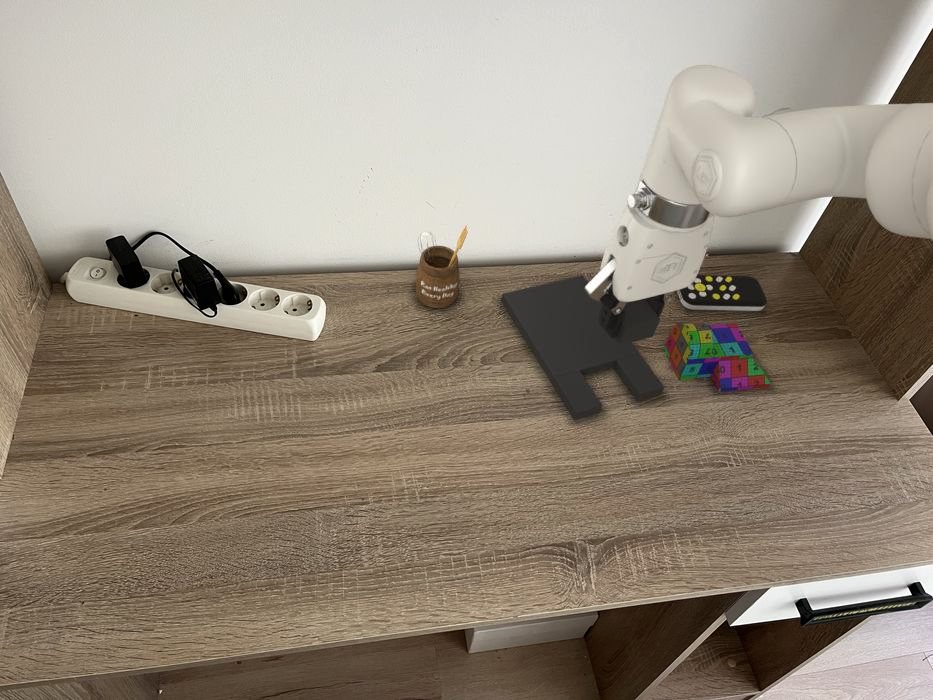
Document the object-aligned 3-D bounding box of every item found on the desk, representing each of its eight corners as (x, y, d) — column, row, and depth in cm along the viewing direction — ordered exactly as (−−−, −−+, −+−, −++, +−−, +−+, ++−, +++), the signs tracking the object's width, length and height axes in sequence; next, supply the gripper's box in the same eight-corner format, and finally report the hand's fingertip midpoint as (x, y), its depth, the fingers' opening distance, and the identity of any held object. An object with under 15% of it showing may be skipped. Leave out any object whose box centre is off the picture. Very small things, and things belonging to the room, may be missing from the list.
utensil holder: (413, 280, 107) (417, 213, 98) (457, 280, 108) (464, 213, 99) (416, 310, 103) (420, 243, 94) (461, 309, 104) (469, 243, 95)
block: (685, 394, 98) (703, 360, 93) (663, 348, 103) (678, 313, 98) (768, 386, 100) (790, 353, 95) (743, 341, 105) (762, 307, 100)
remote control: (766, 312, 110) (771, 303, 108) (682, 311, 108) (686, 301, 107) (752, 283, 114) (757, 274, 112) (671, 281, 112) (675, 271, 111)
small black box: (653, 336, 86) (660, 318, 84) (620, 345, 85) (626, 327, 83) (630, 307, 89) (637, 289, 87) (598, 315, 88) (604, 297, 86)
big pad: (661, 394, 97) (664, 387, 96) (573, 420, 93) (576, 413, 92) (580, 282, 110) (582, 274, 109) (500, 301, 106) (502, 293, 105)
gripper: (620, 236, 68) (578, 365, 82) (766, 204, 74) (704, 330, 87) (581, 188, 73) (547, 317, 86) (721, 161, 78) (669, 287, 92)
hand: (627, 322), depth 87 cm, fingers closed on small black box, 4 cm apart
